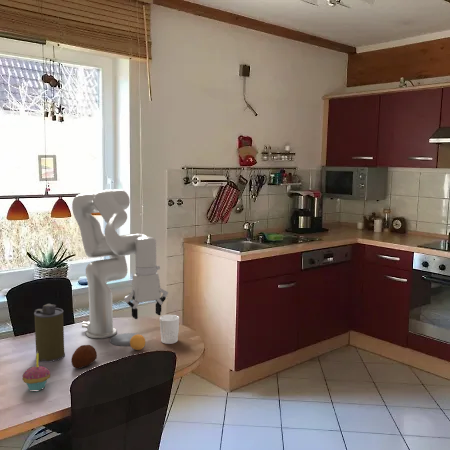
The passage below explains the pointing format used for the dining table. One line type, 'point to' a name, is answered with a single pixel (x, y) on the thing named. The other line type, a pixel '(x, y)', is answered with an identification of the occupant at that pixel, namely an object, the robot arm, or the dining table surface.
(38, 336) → the canister
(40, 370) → the cupcake
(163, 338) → the white cup
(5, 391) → the dining table surface
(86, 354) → the potato
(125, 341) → the disc
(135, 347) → the ball
